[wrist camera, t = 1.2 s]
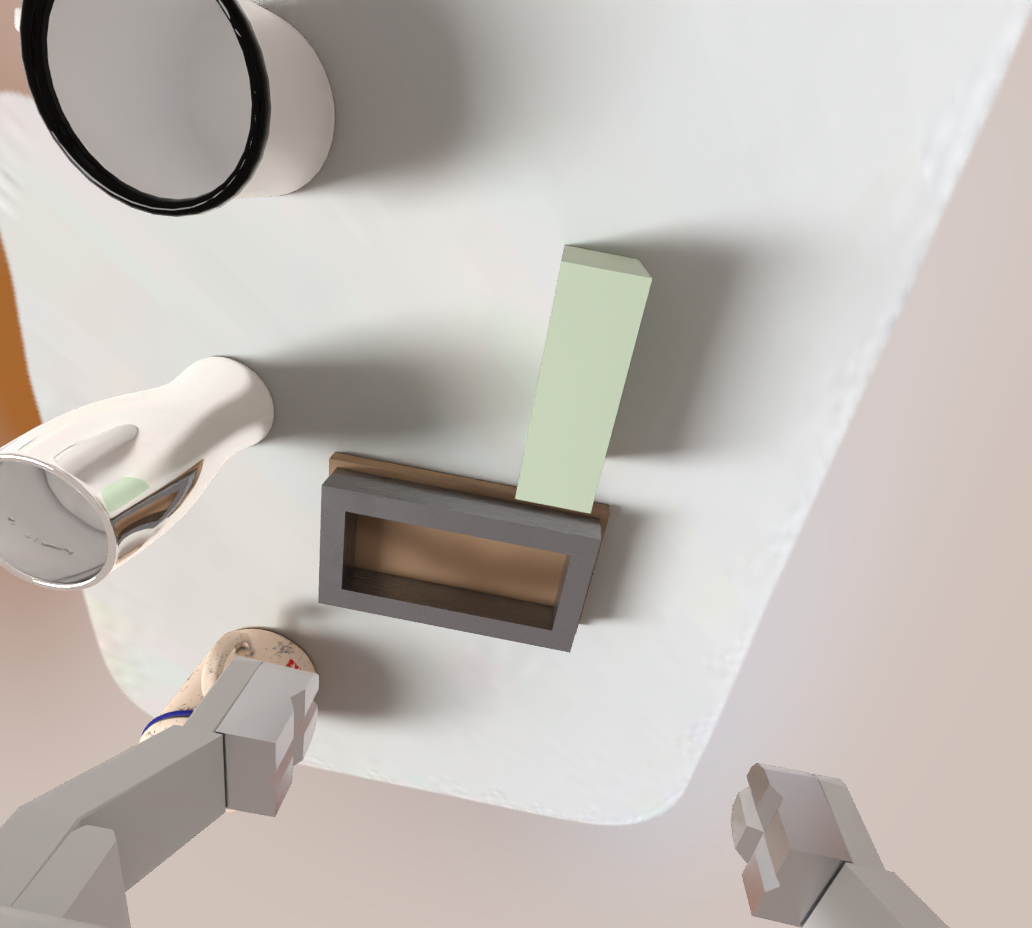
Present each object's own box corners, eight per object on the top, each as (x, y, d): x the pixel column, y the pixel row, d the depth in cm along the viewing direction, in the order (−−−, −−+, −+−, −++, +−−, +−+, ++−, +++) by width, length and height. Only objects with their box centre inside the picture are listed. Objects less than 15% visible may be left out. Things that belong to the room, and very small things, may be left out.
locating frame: (335, 452, 39) (313, 476, 36) (608, 505, 39) (611, 534, 35) (330, 575, 43) (310, 607, 40) (575, 624, 43) (575, 659, 40)
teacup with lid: (322, 717, 50) (254, 862, 39) (216, 700, 50) (120, 838, 39) (319, 603, 44) (239, 735, 34) (200, 584, 45) (84, 709, 34)
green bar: (564, 244, 32) (561, 261, 26) (637, 258, 32) (652, 278, 26) (525, 444, 37) (515, 498, 31) (588, 457, 37) (590, 513, 31)
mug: (368, 42, 29) (287, -11, 21) (323, 235, 33) (241, 254, 25) (125, -68, 28) (-60, -169, 20) (110, 145, 32) (-49, 135, 24)
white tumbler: (304, 410, 38) (152, 540, 24) (237, 471, 40) (66, 621, 27) (217, 325, 36) (0, 414, 22) (153, 394, 38) (-78, 513, 25)
